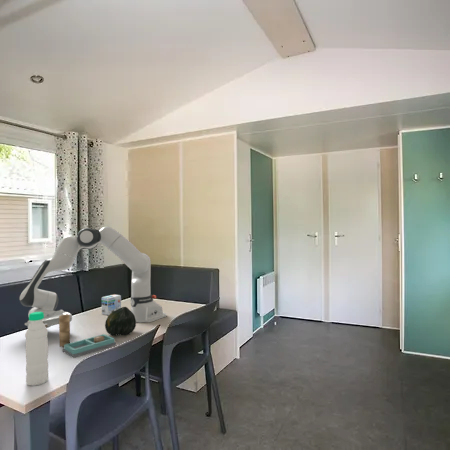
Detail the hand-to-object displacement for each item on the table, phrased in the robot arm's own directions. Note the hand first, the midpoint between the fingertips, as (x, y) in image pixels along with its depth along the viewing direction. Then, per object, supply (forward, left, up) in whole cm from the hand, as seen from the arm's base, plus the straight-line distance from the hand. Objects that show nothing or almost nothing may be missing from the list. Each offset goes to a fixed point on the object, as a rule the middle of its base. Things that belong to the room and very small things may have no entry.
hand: (56, 324), depth 165 cm
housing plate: (-6, +23, -8) cm, 25 cm away
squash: (-26, +16, -8) cm, 32 cm away
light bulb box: (-44, -27, -8) cm, 52 cm away
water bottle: (+22, +41, -8) cm, 48 cm away
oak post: (0, +10, -8) cm, 13 cm away
